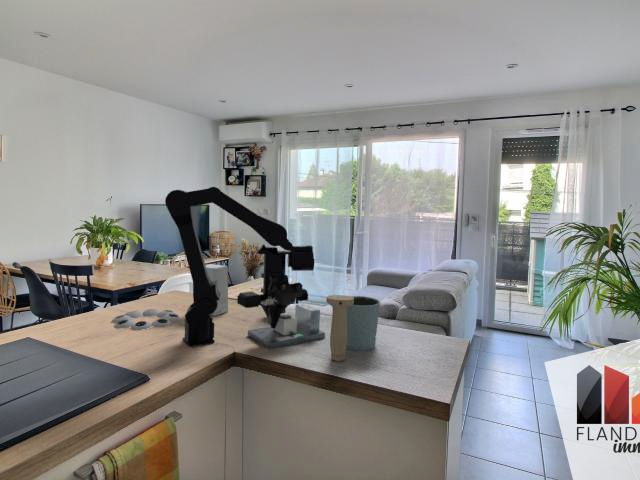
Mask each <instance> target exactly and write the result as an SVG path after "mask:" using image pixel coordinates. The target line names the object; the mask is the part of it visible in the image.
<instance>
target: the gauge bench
mask: <svg viewBox="0 0 640 480" xmlns="http://www.w3.org/2000/svg"><path fill="white" fill-rule="evenodd" d="M294 312H295V314H294V317H295V318H297V333H296V335H292V334H288V335H282V334H280V333H279V332H277V331H275V330H273V329H272V328H271V326H266V327H260V328H254V329H249V330H247V336H248V337H249V338H250V339H252V340H254V341H255V342H257V343H258V344H260V345H261V346H263V347H265V348H266V349H267V350H272V349H273V350H274V349H277V348H282V347H287V346H292V345H297V344H302V343H305V342H310V341H315V340H320V339H325V338H326V332H325V331H322V330H321V329H320V325H321V324H320V323H321V321H320V320H321V319H320V318H321V309H319V308H316V307H315V306H312V305H309V304H306V303H299V304H295V310H294Z"/></svg>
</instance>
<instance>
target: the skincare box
mask: <svg viewBox="0 0 640 480" xmlns="http://www.w3.org/2000/svg"><path fill="white" fill-rule="evenodd" d="M205 266H206V270H207V273H208V276H209V278H210V280H211V281H212V282H214V281H216V280H217V284H218V290H219V292H220V293H221V296H220V300H219V302H218V306H217V309H216V310H215V312H214V313H212V314H210V315H209V316H215V317H216V316H218V315H219V314H220V315H223V314H226V313H228V312H229V286H228V285H229V280H228V278H229V275H228V273H229V272H228V270H229V269H228V268H229V267H228V265H220V264H213V263H212V264H211V263H208V264H205Z"/></svg>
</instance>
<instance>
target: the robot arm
mask: <svg viewBox="0 0 640 480" xmlns="http://www.w3.org/2000/svg"><path fill="white" fill-rule="evenodd" d="M164 199H165V200H164V202H165V205H166V208H167V210H168V213H169V215H170V217H171V219H172V220H173V222H174V223H175V226H176V227H177V229H178V231H179V236H180V239H181V243H182V247H183V251H184V254H185V258H186V262H187V265H188V269H189V272H190V276H191V280H192V296H193V303H191V304H190V305H189V307H188V308H187V311H186V313H185V314H184V337H182V341H183V342H184V343H185V344H186V345H187V346H188V347H197V346H201V345H203V346H204V345H208V344H214V343H215V323H214V322H213V317H212V316H211V315H210V314H212V313H214V312H215V310H216V309H217V306H218V302H219V300H220V296H221V293H220V292H219V290H218V284H217V280H216V281H214V282H212V281H211V280H210V278H209V276H208V273H207V270H206V266H205V265H206V263H205V260H204V256H203V252H202V248H201V244H200V241H199V240H200V239H199V236H198V233H197V229H196V226H195V207H197V206H203V205H207V204H211V203H212V204H214V205H215V206H217V207H219V208H220V209H222V210H224V211H225V212H227V213H228V214H230V215H231V216H233V217H234V218H236V219H237V220H239V221H241V222H242V223H244V224H245V225H247V226H248V227H250V228H251V229H252V230H254V232H256V233H257V234H258V235H259V236H260V237H261V238H262V239H263V240H264V241H265V242H267V243H268V244H269V245H270V246H272V247H270V246H269V247H267V246H266V245H265V244H264V243H263V244H262V245H260V248H258V249H257V250H256V252H257V254H258V255H263V273H261V274H260V275H261V278H263V282H262V283H263V287H262V288H261V289H260V293H261V294H258V293H256V292H254V291H246V292H245V291H244V292H240V293H239V294H238V295H237V298H236V299H237V301H236V302H237V304H238V305H240V306H242V307H244V308H246V309H250V308H252V309H253V308H258V307H259V306H261V308H262V310H263V311H264V313H265V316H266V319H267V322H268V323H269V327H271V328H272V329H274V328H276V325H277V322H278V320H279V317H280V315H281V313H282V311H283V309H284V308H285V307H286V306H288V307H289V306H291V304H295V303H296V300H297V301H299V302H303V301H308V300H309V292H308V290H307V289H305V288H303V284H302V283H301V282H294V283H290V282H289V275H287V274H286V265H287V267H288V268H291V271H292V272H295V271H296V272H297V271H298V272H301V271H302V272H304V271H305V272H307V271H308V272H309V271H310V272H312V271H314V269H315V258H314V257H315V256H314V247H313V245H311V244H310V245H293V243H292V242H291V241H290V240H289V239H288V232H287V230H286V228H285V227H284V226H283V225H282V224H280V223H278V222H275V221H272V220H270V219H269V218H265V217H263V216H261V215H259V214H257V213H256V212H254V211H253V210H251V209H249V208H247V207H246V206H244V205H243V204H242V203H240V202H238V201H237V200H235V199H234V198H232V197H231V196H229V195H227V194H226V193H225V192H224V191H222V190H221V189H220V188H218V187H217V186H210V187H208V188H204V189H203V188H202V189H198V190H192V191H185V190H181V189H174V190H171V191H170V192H168V193H167V195H166V196H165V198H164ZM278 246H279V247H280V248H282V249H283V250H278ZM286 255H287V256H286ZM286 257H287V258H286ZM286 259H287V260H286ZM286 261H287V262H286ZM286 263H287V264H286ZM286 308H287V307H286Z"/></svg>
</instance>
